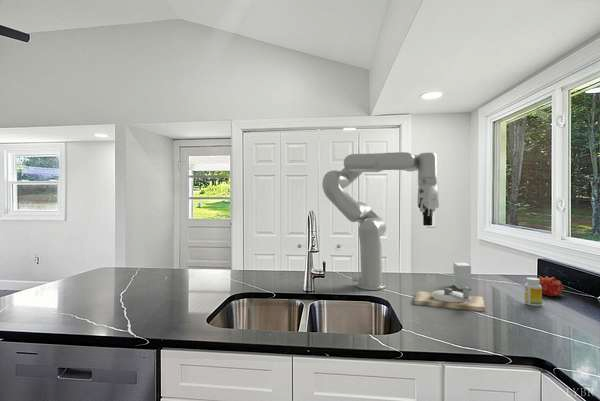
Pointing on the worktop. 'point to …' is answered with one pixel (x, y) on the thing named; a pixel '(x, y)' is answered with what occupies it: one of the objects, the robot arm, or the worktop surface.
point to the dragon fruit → (550, 286)
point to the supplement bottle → (533, 292)
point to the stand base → (427, 299)
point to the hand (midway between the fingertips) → (427, 225)
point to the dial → (451, 295)
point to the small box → (462, 275)
